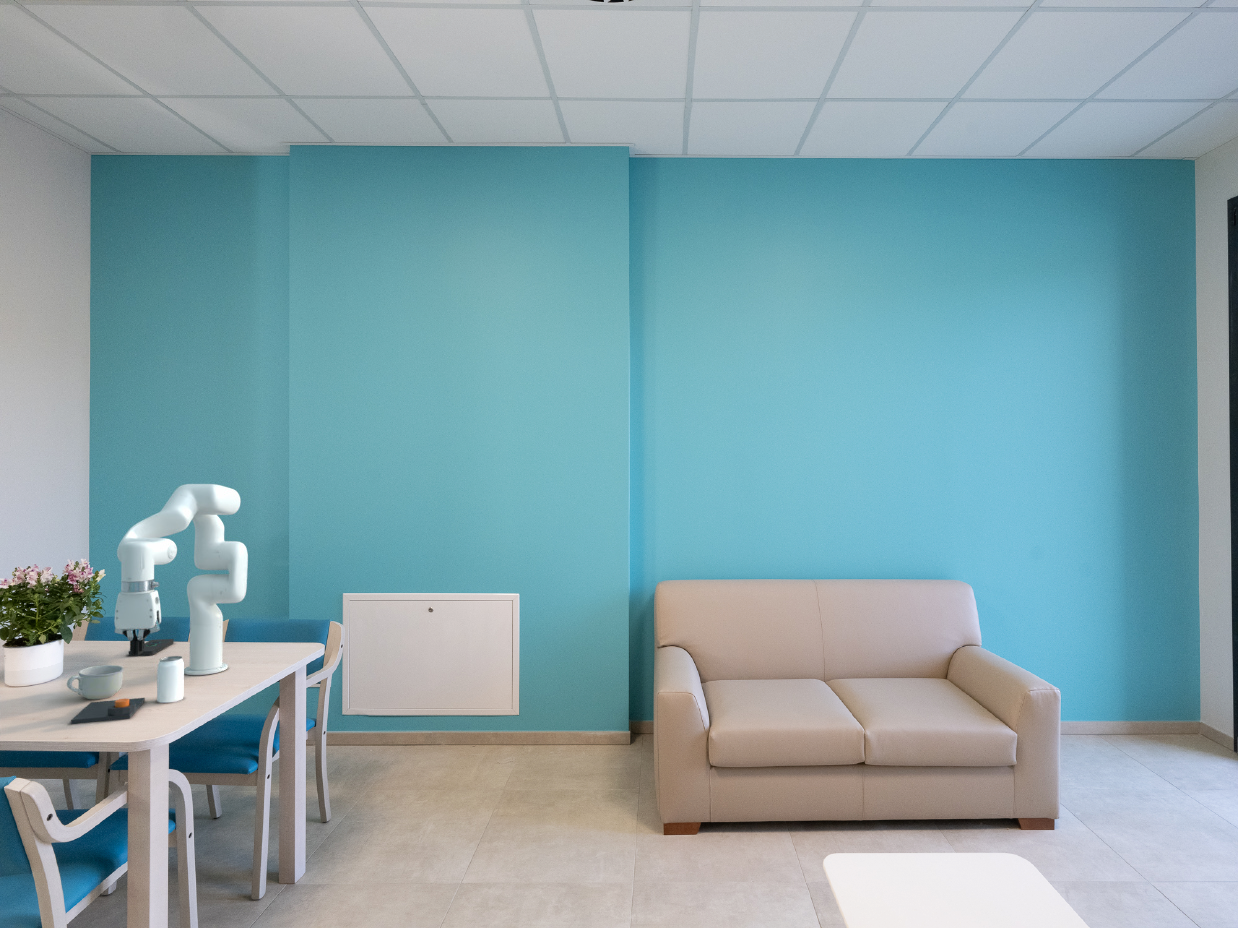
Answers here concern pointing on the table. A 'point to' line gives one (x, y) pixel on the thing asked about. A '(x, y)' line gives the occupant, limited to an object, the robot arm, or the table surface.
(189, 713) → the table surface
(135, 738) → the table surface
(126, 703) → the button
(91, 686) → the teacup
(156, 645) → the smart home device
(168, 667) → the can
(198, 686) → the table surface
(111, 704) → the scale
